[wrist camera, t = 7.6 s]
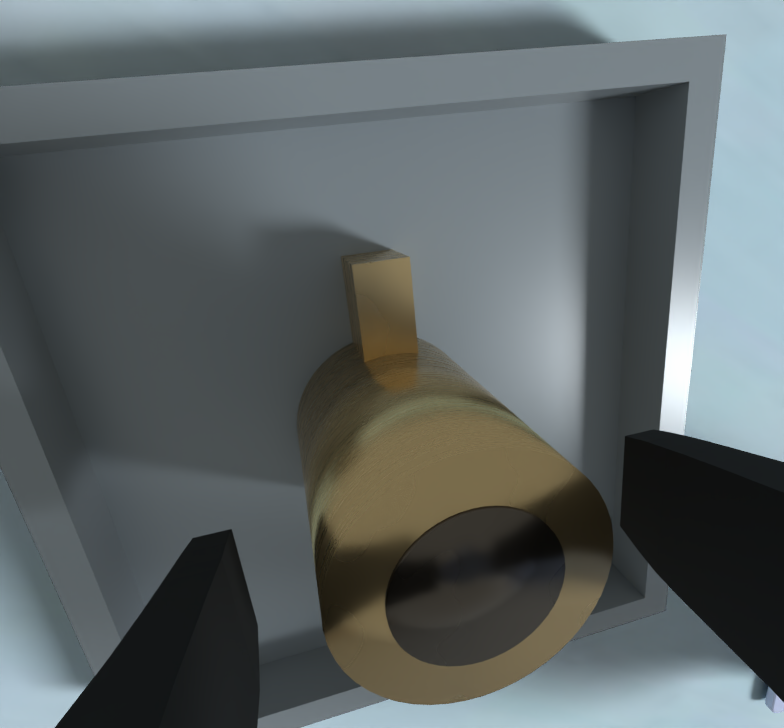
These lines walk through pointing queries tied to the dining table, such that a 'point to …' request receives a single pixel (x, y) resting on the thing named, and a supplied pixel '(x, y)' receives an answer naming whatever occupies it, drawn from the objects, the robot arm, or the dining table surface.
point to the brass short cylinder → (437, 512)
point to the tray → (332, 299)
